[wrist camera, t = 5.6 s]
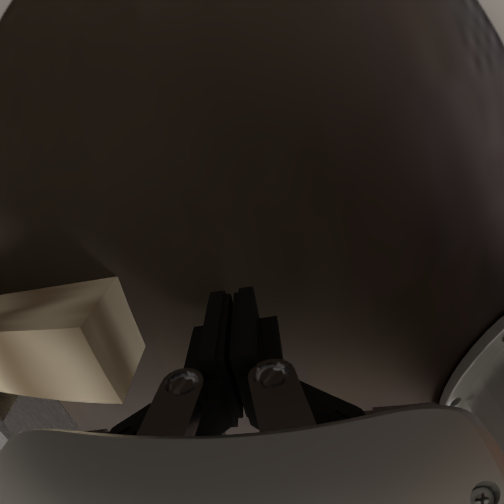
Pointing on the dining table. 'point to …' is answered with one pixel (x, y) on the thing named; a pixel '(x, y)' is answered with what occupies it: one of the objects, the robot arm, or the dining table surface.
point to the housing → (30, 415)
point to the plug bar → (69, 342)
